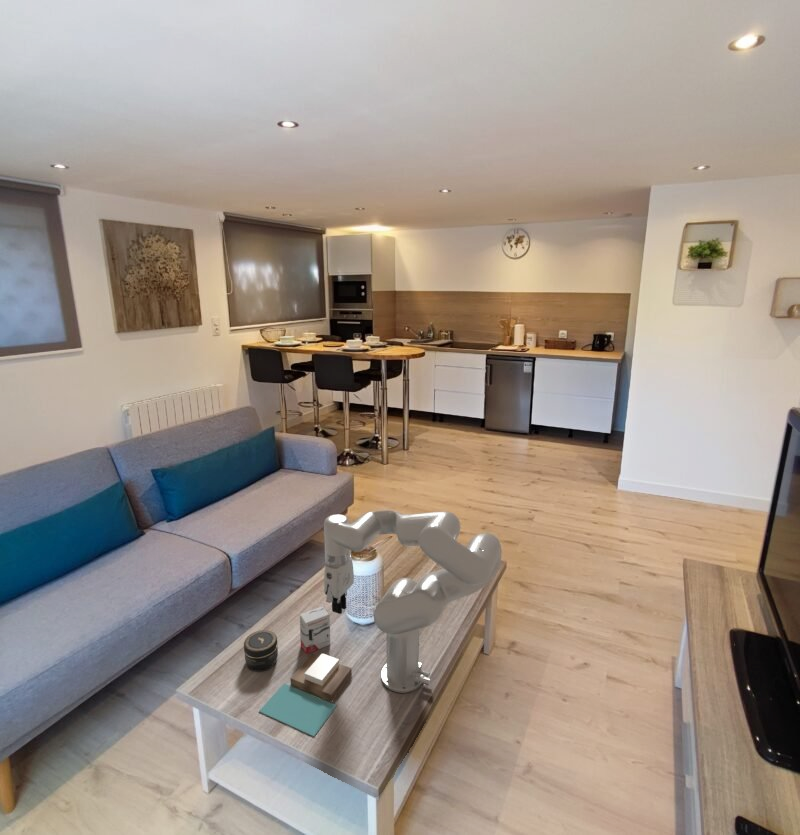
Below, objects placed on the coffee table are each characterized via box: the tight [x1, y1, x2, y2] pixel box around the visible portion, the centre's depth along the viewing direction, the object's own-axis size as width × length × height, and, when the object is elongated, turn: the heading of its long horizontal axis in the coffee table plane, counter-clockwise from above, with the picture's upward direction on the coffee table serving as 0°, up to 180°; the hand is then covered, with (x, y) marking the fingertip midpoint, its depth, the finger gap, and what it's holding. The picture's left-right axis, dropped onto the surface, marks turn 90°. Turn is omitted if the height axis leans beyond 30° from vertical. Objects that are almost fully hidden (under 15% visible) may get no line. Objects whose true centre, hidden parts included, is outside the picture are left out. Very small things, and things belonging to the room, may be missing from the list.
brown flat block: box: [289, 653, 353, 703], centre depth 145 cm, size 14×11×2 cm
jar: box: [243, 629, 279, 672], centre depth 151 cm, size 10×10×8 cm
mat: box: [258, 683, 337, 738], centre depth 135 cm, size 18×11×1 cm, turn 65°
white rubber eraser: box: [305, 653, 340, 686], centre depth 145 cm, size 6×9×2 cm, turn 155°
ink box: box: [299, 605, 331, 655], centre depth 158 cm, size 8×5×12 cm, turn 123°
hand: (339, 609), depth 150 cm, fingers closed
